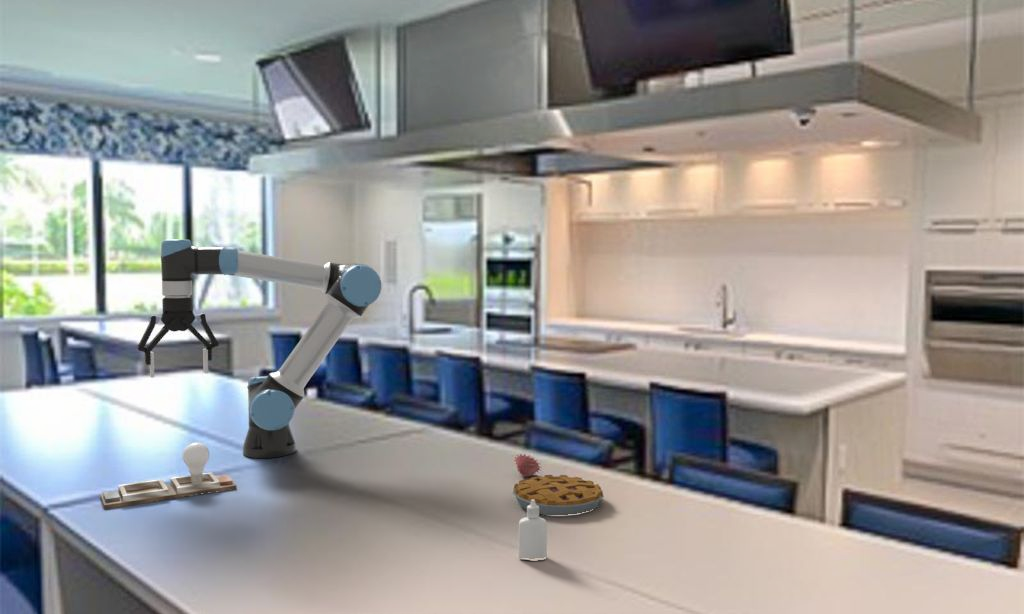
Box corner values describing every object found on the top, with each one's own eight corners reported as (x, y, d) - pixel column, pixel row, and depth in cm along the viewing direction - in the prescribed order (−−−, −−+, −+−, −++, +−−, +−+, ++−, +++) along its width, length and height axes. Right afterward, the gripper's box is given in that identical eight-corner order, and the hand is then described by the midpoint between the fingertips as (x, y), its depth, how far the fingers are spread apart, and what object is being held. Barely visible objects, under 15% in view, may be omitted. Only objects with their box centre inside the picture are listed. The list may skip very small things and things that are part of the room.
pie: (541, 525, 177) (541, 503, 176) (497, 497, 196) (497, 478, 196) (620, 511, 187) (621, 490, 187) (571, 486, 206) (571, 467, 206)
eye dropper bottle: (525, 552, 161) (525, 494, 160) (549, 557, 158) (550, 499, 157) (515, 559, 157) (515, 500, 156) (540, 565, 154) (540, 505, 154)
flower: (523, 460, 208) (531, 445, 212) (503, 467, 213) (511, 451, 217) (542, 480, 210) (549, 464, 214) (522, 486, 215) (529, 470, 219)
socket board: (227, 479, 209) (227, 469, 209) (236, 489, 201) (236, 479, 200) (100, 497, 193) (100, 487, 193) (104, 509, 185) (104, 498, 184)
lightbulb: (200, 489, 196) (199, 446, 196) (178, 488, 198) (176, 445, 197) (215, 482, 203) (214, 440, 202) (193, 480, 204) (192, 439, 203)
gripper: (222, 294, 222) (224, 369, 224) (124, 297, 209) (127, 376, 210) (228, 296, 216) (230, 372, 217) (128, 298, 203) (130, 380, 204)
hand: (179, 374), depth 214 cm, fingers open, 13 cm apart
